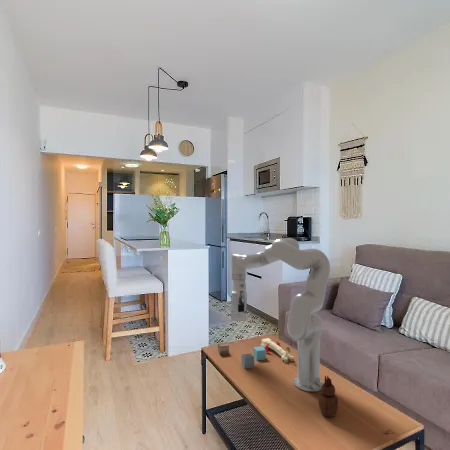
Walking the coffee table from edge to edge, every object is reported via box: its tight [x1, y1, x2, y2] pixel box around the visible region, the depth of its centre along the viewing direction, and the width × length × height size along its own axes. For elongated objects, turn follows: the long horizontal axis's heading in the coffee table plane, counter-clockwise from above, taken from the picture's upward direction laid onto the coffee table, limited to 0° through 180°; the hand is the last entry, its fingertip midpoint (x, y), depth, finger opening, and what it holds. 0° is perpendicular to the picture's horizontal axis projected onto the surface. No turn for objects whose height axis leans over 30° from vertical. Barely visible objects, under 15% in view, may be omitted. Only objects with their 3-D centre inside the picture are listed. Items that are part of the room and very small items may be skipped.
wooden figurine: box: [318, 375, 339, 418], centre depth 114 cm, size 7×6×15 cm
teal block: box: [252, 345, 267, 361], centre depth 163 cm, size 5×5×5 cm
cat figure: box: [259, 337, 295, 364], centre depth 168 cm, size 10×9×25 cm
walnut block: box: [217, 341, 230, 356], centre depth 169 cm, size 5×5×5 cm
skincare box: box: [230, 290, 248, 322], centre depth 165 cm, size 8×6×15 cm
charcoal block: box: [241, 353, 255, 369], centre depth 154 cm, size 5×5×5 cm
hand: (238, 309), depth 165 cm, fingers closed on skincare box, 7 cm apart
